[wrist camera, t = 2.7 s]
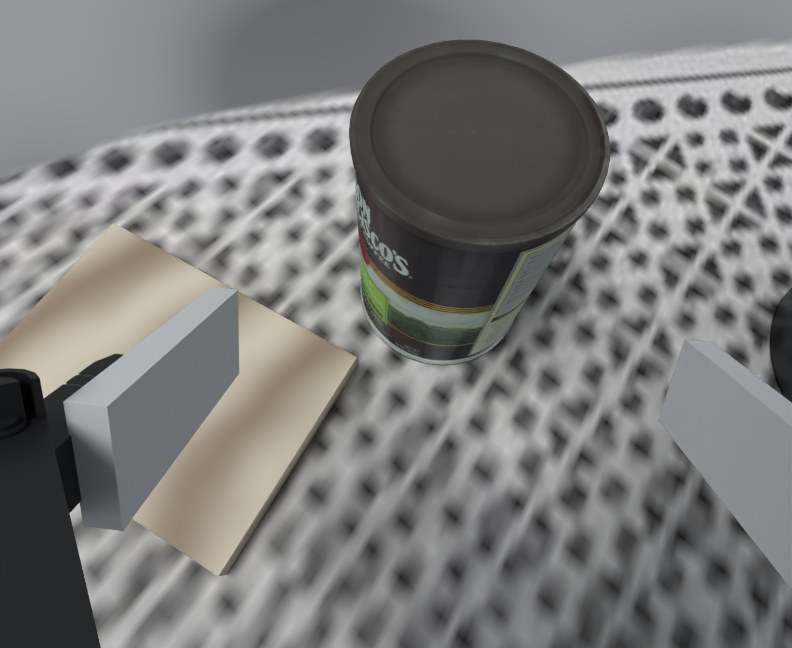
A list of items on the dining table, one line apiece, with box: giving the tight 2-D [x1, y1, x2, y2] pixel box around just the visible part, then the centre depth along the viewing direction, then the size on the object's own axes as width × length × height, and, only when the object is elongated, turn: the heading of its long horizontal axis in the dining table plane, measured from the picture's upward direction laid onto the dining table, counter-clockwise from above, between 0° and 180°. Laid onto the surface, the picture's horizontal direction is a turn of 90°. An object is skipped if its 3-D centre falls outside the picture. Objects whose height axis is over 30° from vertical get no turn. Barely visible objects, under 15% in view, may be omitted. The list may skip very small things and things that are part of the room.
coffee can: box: [349, 40, 610, 365], centre depth 26 cm, size 10×10×14 cm
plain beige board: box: [0, 223, 358, 576], centre depth 29 cm, size 18×13×2 cm
